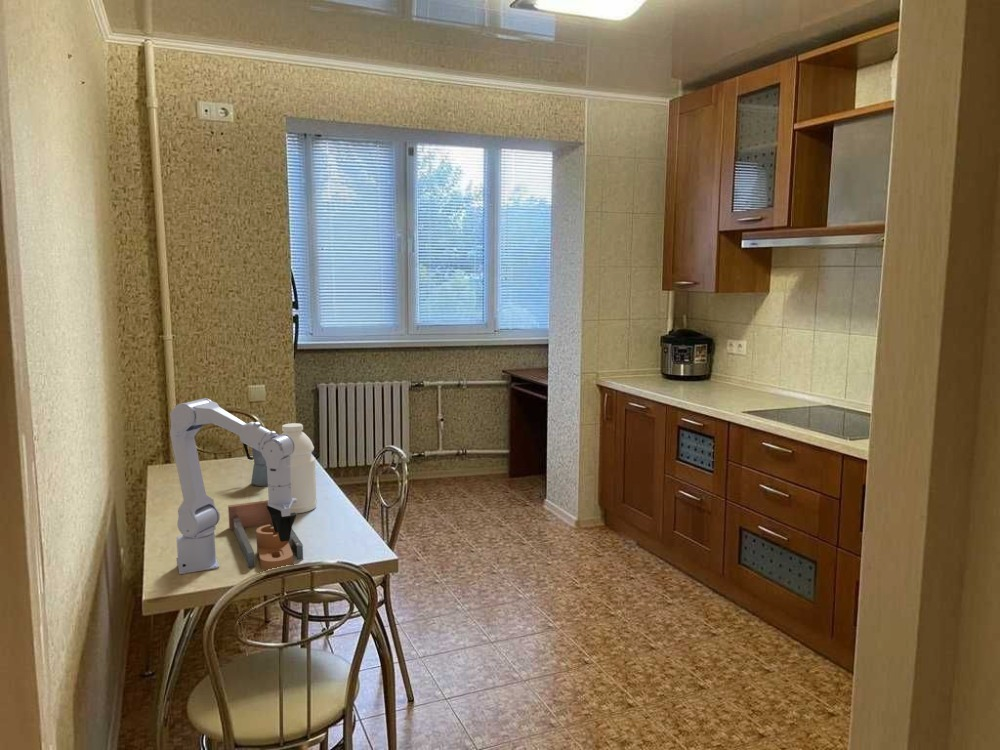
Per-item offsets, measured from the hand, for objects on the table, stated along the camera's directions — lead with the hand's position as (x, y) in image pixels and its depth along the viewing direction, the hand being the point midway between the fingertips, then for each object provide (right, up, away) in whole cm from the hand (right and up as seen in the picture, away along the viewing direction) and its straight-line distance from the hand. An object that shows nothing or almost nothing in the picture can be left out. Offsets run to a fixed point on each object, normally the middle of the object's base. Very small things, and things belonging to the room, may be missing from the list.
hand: (281, 536), depth 186 cm
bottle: (-13, -4, +57) cm, 59 cm away
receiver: (-12, -7, +24) cm, 28 cm away
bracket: (-6, -9, +13) cm, 17 cm away
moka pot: (-33, 0, +87) cm, 93 cm away
